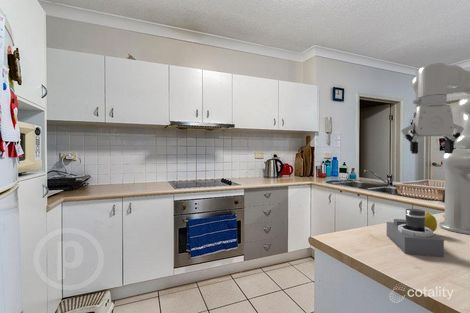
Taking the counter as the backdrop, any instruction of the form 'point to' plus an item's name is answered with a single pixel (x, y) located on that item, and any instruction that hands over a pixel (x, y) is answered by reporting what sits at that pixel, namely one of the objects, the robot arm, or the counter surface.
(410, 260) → the counter surface
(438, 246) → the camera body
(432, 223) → the lemon
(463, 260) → the counter surface
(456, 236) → the counter surface
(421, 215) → the lens
